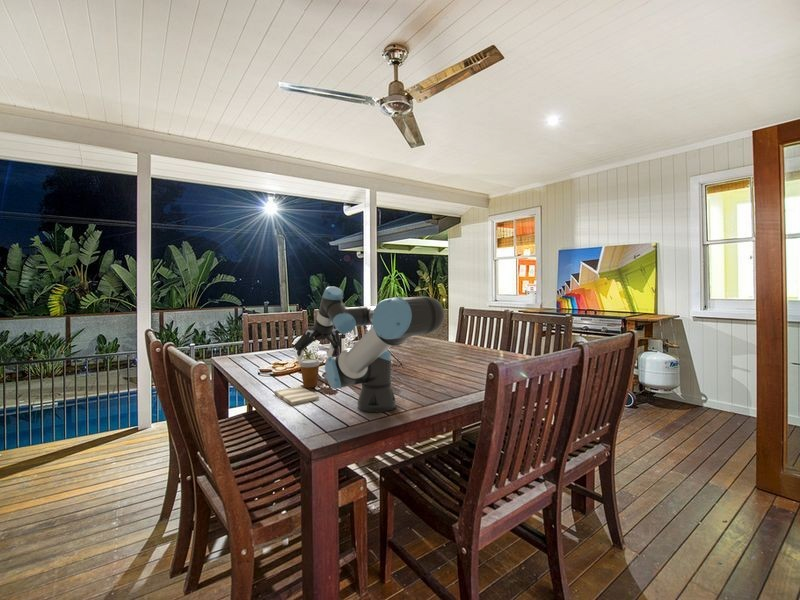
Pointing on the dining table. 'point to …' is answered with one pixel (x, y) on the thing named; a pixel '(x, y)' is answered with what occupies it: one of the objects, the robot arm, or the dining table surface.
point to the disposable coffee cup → (309, 372)
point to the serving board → (296, 395)
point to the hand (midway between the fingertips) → (314, 358)
